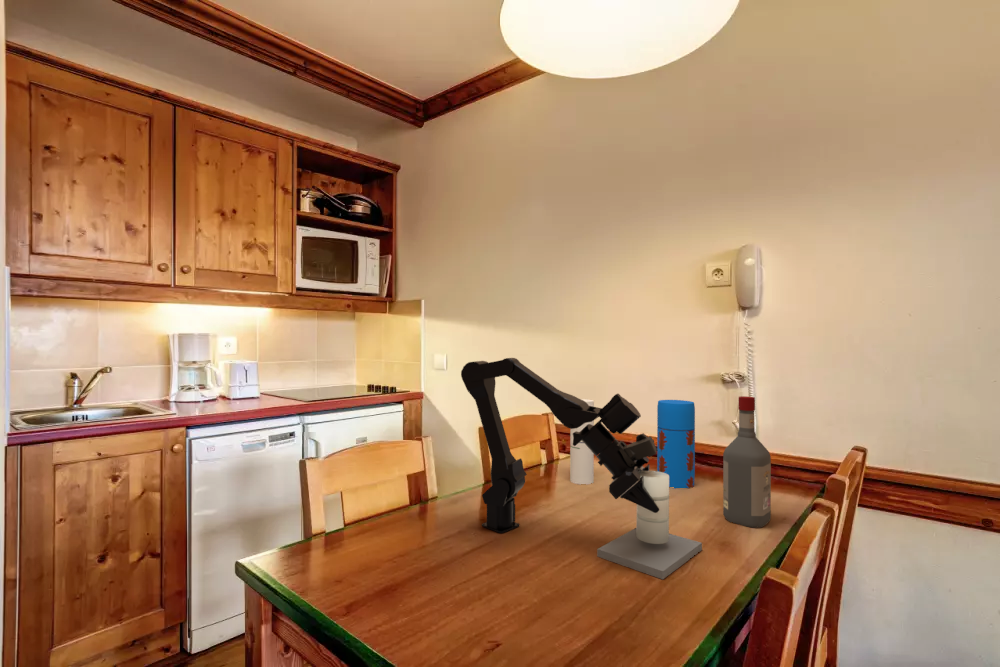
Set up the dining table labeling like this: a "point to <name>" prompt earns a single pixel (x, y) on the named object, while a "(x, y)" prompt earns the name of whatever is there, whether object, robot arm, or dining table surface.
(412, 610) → the dining table surface
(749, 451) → the liquor
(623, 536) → the shelf board
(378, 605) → the dining table surface
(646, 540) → the tumbler stack
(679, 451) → the thermos
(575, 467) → the cylindrical container
